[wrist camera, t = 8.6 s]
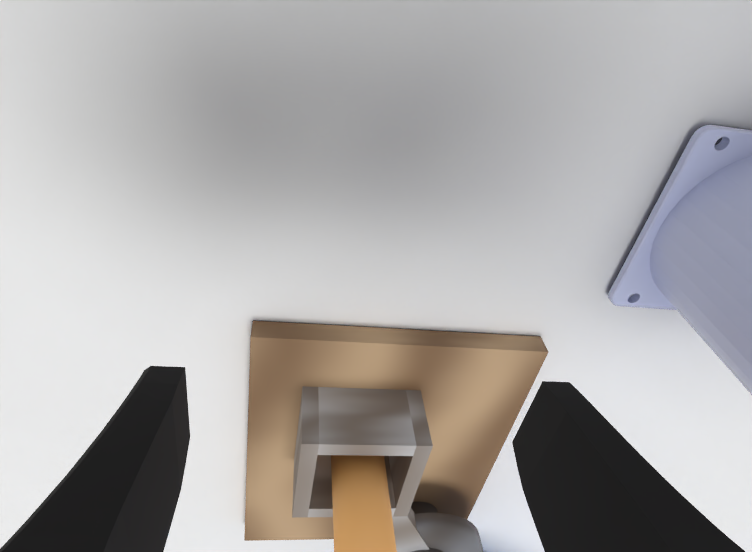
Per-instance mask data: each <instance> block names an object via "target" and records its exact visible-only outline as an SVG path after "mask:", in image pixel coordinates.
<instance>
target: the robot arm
mask: <svg viewBox="0 0 752 552" xmlns="http://www.w3.org/2000/svg"><path fill="white" fill-rule="evenodd" d="M721 137H722V140H721V141H720V143H719V144H717V145H716V146H715V143H716V141H717V140H718V139H720V138H721ZM632 294H634V295H632ZM630 295H632V296H631V297H630ZM608 297H609V299H610V301H611V302H612V303H613V304H614V305H617V306H628V307H642V308H657V309H672V310H678V312H679V313H680V314H681V315H682V316H683V317H684V318H685V320H686V321H687V322H688V323H689V324H690V325H691V326H692V328H693V329H694V330H695V331H696V332H697V333H698V334H699V335H700V337H701V338H702V339H703V340H704V341H705V342H706V343H707V345H708V346H709V347H710V348H711V349H712V350H713V351H714V353H715V354H716V355H717V356H718V357H719V358H720V359H721V360H722V362H723V363H724V364H725V365H726V366H727V367H728V368H729V370H730V371H731V372H732V373H733V374H734V375H735V376H736V378H737V379H738V380H739V381H740V382H741V383H742V384H743V385H744V387H745V388H746V389H747V390H748V391H749V392H750V393H751V395H752V130H745V129H738V128H731V127H724V126H717V125H705V126H702V127H700V128H699V129H698V130H696V131H695V132H694V134H693V135H692V136H691V138H690V140H689V142H688V144H687V146H686V148H685V150H684V152H683V153H682V155H681V157H680V159H679V161H678V163H677V165H676V167H675V169H674V170H673V172H672V174H671V176H670V178H669V180H668V182H667V184H666V185H665V187H664V189H663V191H662V193H661V195H660V197H659V199H658V201H657V202H656V204H655V206H654V208H653V210H652V212H651V214H650V216H649V218H648V219H647V221H646V223H645V225H644V227H643V229H642V231H641V233H640V235H639V236H638V238H637V240H636V242H635V244H634V246H633V248H632V250H631V251H630V253H629V255H628V257H627V259H626V261H625V263H624V265H623V267H622V268H621V270H620V272H619V274H618V276H617V278H616V280H615V282H614V284H613V285H612V287H611V289H610V291H609V294H608ZM189 440H190V430H189V416H188V402H187V388H186V374H185V367H162V366H150V367H149V368H147V369H146V370H145V371H144V372H143V374H142V375H141V377H140V378H139V380H138V381H137V383H136V384H135V386H134V387H133V389H132V390H131V392H130V393H129V395H128V396H127V397H126V399H125V400H124V402H123V403H122V404H121V406H120V407H119V409H118V410H117V411H116V413H115V414H114V415H113V417H112V418H111V419H110V421H109V422H108V423H107V425H106V426H105V427H104V429H103V430H102V431H101V433H100V434H99V435H98V437H97V438H96V439H95V440H94V442H93V443H92V444H91V445H90V447H89V448H88V449H87V450H86V452H85V453H84V454H83V455H82V457H81V458H80V459H79V460H78V462H77V463H76V464H75V465H74V467H73V468H72V469H71V470H70V471H69V473H68V474H67V475H66V476H65V477H64V479H63V480H62V481H61V482H60V483H59V484H58V485H57V487H56V488H55V489H54V490H53V491H52V492H51V493H50V495H49V496H48V497H47V498H46V499H45V500H44V501H43V503H42V504H41V505H40V506H39V507H38V508H37V509H36V511H35V512H34V513H33V514H32V515H31V516H30V517H29V519H28V520H27V521H26V522H25V523H24V524H23V525H22V526H21V527H20V528H19V530H18V531H17V532H16V533H15V534H14V535H13V536H12V537H11V538H10V539H9V540H8V541H7V542H6V543H5V545H4V546H3V547H2V548H1V549H0V552H163V550H164V547H165V544H166V540H167V537H168V533H169V530H170V526H171V522H172V519H173V515H174V512H175V508H176V505H177V501H178V498H179V494H180V490H181V485H182V480H183V474H184V469H185V463H186V457H187V451H188V445H189ZM512 443H513V447H514V452H515V457H516V462H517V467H518V471H519V475H520V479H521V483H522V488H523V491H524V494H525V497H526V500H527V503H528V506H529V509H530V511H531V514H532V517H533V520H534V523H535V526H536V528H537V531H538V534H539V537H540V539H541V542H542V545H543V548H544V550H545V552H745V551H744V550H743V549H741V548H740V547H739V546H738V545H737V544H735V543H734V542H733V541H732V540H731V539H729V538H728V537H727V536H726V535H725V534H724V533H723V532H721V531H720V530H719V529H718V528H717V527H716V526H715V525H713V524H712V523H711V522H710V521H709V520H708V519H707V518H706V517H705V516H704V515H703V514H701V513H700V512H699V511H698V510H697V509H696V508H695V507H694V506H693V505H692V504H691V503H690V502H688V501H687V500H686V499H685V498H684V497H683V496H682V495H681V494H680V493H679V492H678V491H677V490H676V489H675V488H674V487H673V486H672V485H670V484H669V483H668V482H667V481H666V480H665V479H664V478H663V477H662V476H661V475H660V474H659V473H658V472H657V471H656V470H655V469H654V468H653V467H652V466H651V465H650V464H649V463H648V462H647V461H646V460H645V459H644V458H643V457H642V456H641V455H640V454H639V453H638V452H637V451H636V450H635V449H634V448H633V447H632V446H631V445H630V444H629V443H628V442H627V441H626V440H625V439H624V438H623V436H622V435H621V434H620V433H619V432H618V431H617V430H616V429H615V428H614V427H613V426H612V425H611V424H610V423H609V422H608V421H607V420H606V419H605V418H604V417H603V416H602V415H601V414H600V413H599V412H598V411H597V410H596V409H595V408H594V406H593V405H592V404H591V403H590V402H589V401H588V400H587V399H586V398H585V397H584V396H583V395H582V394H581V393H580V392H579V391H578V390H577V389H576V388H575V387H574V386H573V385H572V384H570V383H569V382H545V381H543V382H542V384H541V386H540V388H539V390H538V392H537V394H536V396H535V398H534V400H533V402H532V404H531V406H530V408H529V410H528V412H527V414H526V416H525V418H524V420H523V422H522V424H521V426H520V428H519V430H518V432H517V434H516V436H515V438H514V440H513V442H512Z"/></svg>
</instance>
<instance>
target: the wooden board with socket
mask: <svg viewBox="0 0 752 552" xmlns="http://www.w3.org/2000/svg"><path fill="white" fill-rule="evenodd" d="M547 354H548V350H547V348H546V346H545V344H544V342H543V340H542V339H541V337H538V336H520V335H502V334H484V333H466V332H448V331H430V330H411V329H393V328H375V327H357V326H339V325H321V324H303V323H285V322H267V321H253V324H252V331H251V342H250V375H249V409H248V442H247V475H246V509H245V540H304V539H334V530H333V502H332V475H331V455H361V456H384V459H385V466H386V474H387V481H388V489H389V496H390V504H391V512H392V519H393V527H394V534H395V542H396V550H397V552H483V548H482V544H481V540H480V536H479V533H478V530H477V528H476V527H475V526H474V525H473V524H472V523H471V522H469V521H468V520H467V518H468V516H469V514H470V512H471V510H472V508H473V506H474V504H475V502H476V500H477V498H478V496H479V494H480V492H481V490H482V488H483V485H484V483H485V481H486V479H487V477H488V475H489V473H490V471H491V469H492V467H493V465H494V463H495V461H496V459H497V457H498V455H499V453H500V451H501V448H502V446H503V444H504V442H505V440H506V438H507V436H508V434H509V432H510V430H511V428H512V426H513V424H514V422H515V420H516V418H517V416H518V413H519V411H520V409H521V407H522V405H523V403H524V401H525V399H526V397H527V395H528V393H529V391H530V389H531V387H532V385H533V383H534V381H535V379H536V376H537V374H538V372H539V370H540V368H541V366H542V364H543V362H544V360H545V358H546V356H547Z"/></svg>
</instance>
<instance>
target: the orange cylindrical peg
mask: <svg viewBox="0 0 752 552" xmlns="http://www.w3.org/2000/svg"><path fill="white" fill-rule="evenodd" d="M331 475H332V502H333V530H334V552H397V550H396V542H395V534H394V527H393V519H392V512H391V504H390V496H389V489H388V481H387V474H386V466H385V459H384V456H361V455H331Z"/></svg>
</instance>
